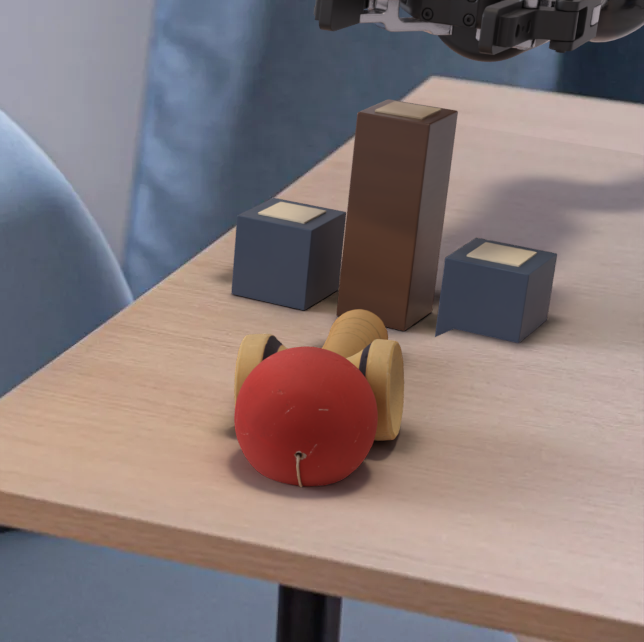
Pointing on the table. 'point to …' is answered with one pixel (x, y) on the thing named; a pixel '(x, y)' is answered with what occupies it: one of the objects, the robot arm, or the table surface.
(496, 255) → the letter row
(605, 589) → the table surface
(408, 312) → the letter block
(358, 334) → the kendama
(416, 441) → the table surface
